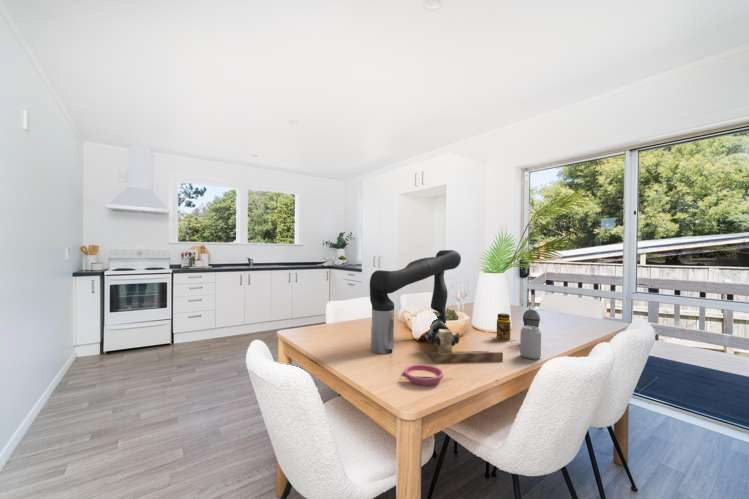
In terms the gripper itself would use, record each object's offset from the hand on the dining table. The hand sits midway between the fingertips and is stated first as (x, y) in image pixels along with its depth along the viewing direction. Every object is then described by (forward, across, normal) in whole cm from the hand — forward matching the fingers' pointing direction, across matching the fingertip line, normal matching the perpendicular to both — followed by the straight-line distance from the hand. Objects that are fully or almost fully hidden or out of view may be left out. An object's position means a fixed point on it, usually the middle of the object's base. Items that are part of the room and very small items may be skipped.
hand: (446, 343), depth 121 cm
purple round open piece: (+16, -10, +8) cm, 21 cm away
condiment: (-37, +33, +8) cm, 50 cm away
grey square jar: (-11, +35, +8) cm, 38 cm away
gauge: (-2, 0, +6) cm, 6 cm away
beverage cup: (-30, +43, +8) cm, 53 cm away
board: (-4, +7, +8) cm, 11 cm away
